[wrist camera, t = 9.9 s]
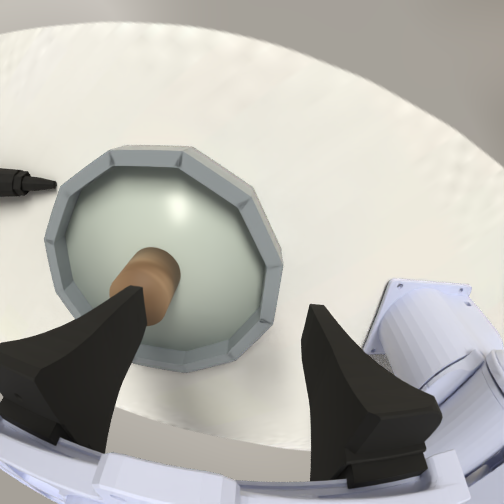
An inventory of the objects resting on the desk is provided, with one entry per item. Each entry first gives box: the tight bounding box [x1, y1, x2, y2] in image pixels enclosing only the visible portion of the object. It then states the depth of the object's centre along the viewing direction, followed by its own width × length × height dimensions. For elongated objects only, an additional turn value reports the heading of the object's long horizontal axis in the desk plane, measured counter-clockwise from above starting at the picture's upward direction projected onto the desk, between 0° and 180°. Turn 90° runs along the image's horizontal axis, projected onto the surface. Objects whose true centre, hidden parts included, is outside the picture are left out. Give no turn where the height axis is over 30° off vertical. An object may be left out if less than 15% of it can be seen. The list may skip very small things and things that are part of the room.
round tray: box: [44, 145, 283, 373], centre depth 21 cm, size 18×18×2 cm
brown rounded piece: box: [109, 247, 181, 326], centre depth 20 cm, size 4×4×4 cm
